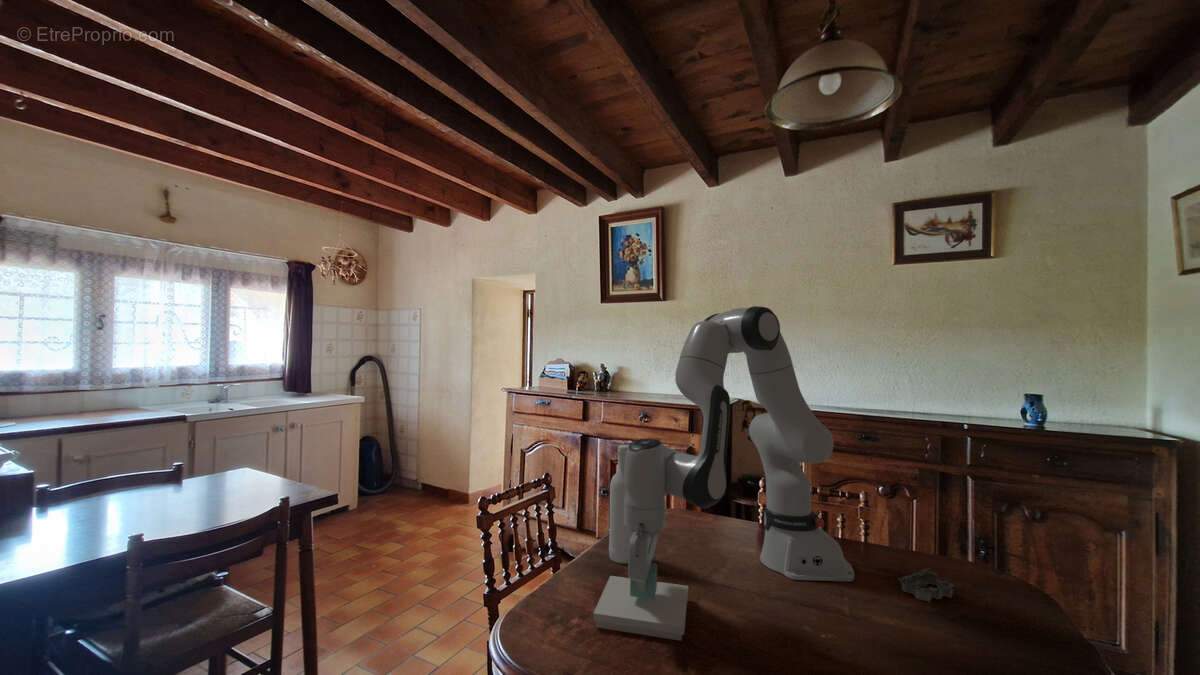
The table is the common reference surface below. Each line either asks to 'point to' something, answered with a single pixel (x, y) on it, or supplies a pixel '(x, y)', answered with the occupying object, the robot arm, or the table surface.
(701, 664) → the table surface
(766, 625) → the table surface
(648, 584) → the teal block
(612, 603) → the cream wooden base
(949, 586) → the grey jagged ring
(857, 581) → the table surface
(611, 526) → the bottle
